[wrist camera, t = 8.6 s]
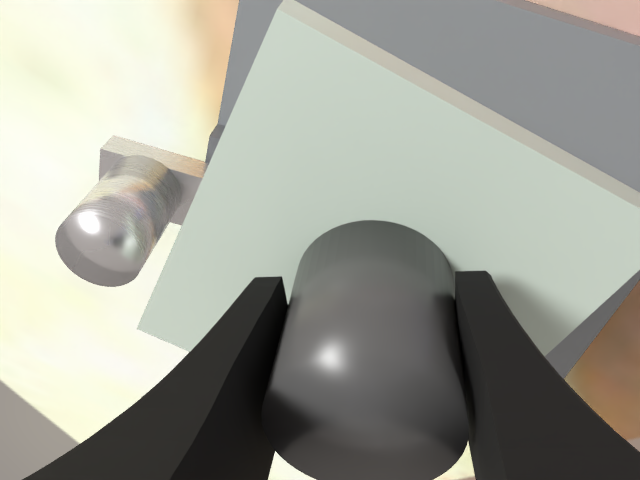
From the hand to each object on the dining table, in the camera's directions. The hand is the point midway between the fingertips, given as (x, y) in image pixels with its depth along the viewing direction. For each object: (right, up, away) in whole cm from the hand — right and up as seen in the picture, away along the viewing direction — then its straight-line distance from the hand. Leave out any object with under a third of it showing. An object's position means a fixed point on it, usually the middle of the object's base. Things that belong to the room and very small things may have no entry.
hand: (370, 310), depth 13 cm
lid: (0, +1, +2) cm, 2 cm away
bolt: (-5, +3, +7) cm, 10 cm away
